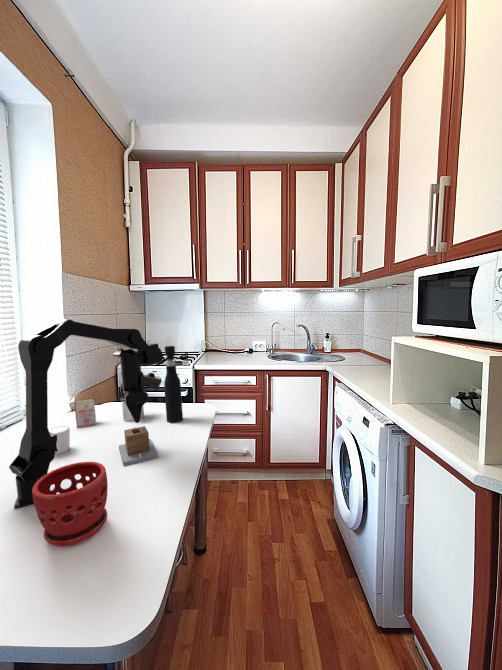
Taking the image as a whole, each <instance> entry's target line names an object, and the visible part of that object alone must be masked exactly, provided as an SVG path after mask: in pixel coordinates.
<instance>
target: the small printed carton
mask: <svg viewBox="0 0 502 670" xmlns="http://www.w3.org/2000/svg"><path fill="white" fill-rule="evenodd" d="M74 408H75V409H74V413H75V422H76V424H75V425H76V428H82V427H90V426H95V425H96V424H97V417H96V416H97V415H96V407H95V399H94V398H93V399H86V400H78V401H74Z"/></svg>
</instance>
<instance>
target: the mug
mask: <svg viewBox="0 0 502 670" xmlns="http://www.w3.org/2000/svg"><path fill="white" fill-rule="evenodd" d="M119 401H121V409H122V419H123V421H126V422H135V421H134V419H133V417H132V415H131V413H130V411H129V409H128V407H127V406H126V403H125V400H124V398H123V396H121V397H120V400H119ZM144 409H145V407H144V405H143V406H142V410H141V416H140V420H142V419H143V418H144V417H145V410H144ZM141 418H142V419H141Z"/></svg>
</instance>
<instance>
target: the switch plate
mask: <svg viewBox="0 0 502 670" xmlns="http://www.w3.org/2000/svg"><path fill="white" fill-rule="evenodd" d="M149 447H150V451H148V452H143V453H139V454H135V455H130V456H128V454H127V451H126V445H125V443H123V444H120V445H118V450H119V454H120V458H121V463H122V465H123V466H128V465H132V464H137V463H140V462H144V461H149V460H153V459H157V458H159V453H158V451H157V449H156V447H155V445H154V443H153V442H152V440H151V438H149Z"/></svg>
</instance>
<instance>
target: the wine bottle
mask: <svg viewBox="0 0 502 670" xmlns="http://www.w3.org/2000/svg"><path fill="white" fill-rule="evenodd" d="M175 348H176V347H175V345H167V346H164V356H166V360H167V361H166V368H165V369H166V373H165V378H164V382H163V383H164V386H163V387H164V389H163V390H164V400H165V401H164V402H165V413H166V414H165V415H166V422H167V423H168V422H169V423H170V424H176V422H177V423H180V422H182V421H183V420H184V417H183V416H184V414H183V400H182V387H181V381H180V378H179V375H178V372H177V365H176V361H175V359H174V358H175V357H174V356H175V355H176V349H175Z"/></svg>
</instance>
